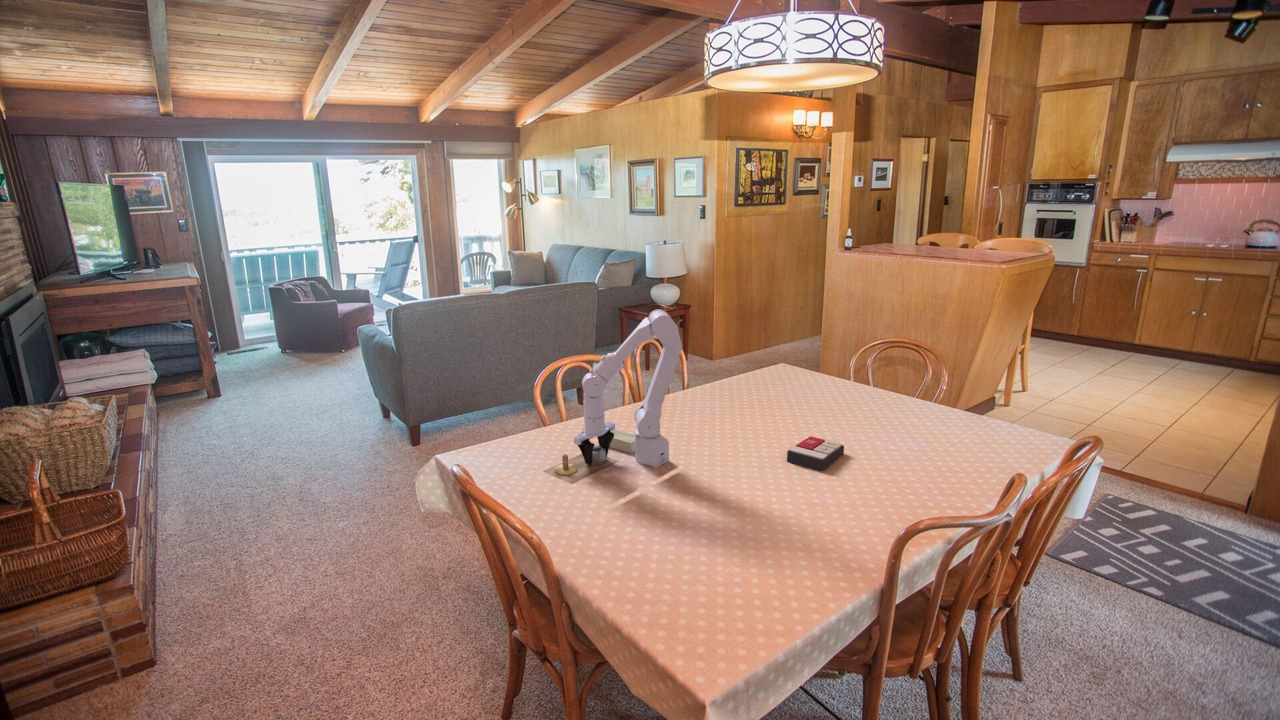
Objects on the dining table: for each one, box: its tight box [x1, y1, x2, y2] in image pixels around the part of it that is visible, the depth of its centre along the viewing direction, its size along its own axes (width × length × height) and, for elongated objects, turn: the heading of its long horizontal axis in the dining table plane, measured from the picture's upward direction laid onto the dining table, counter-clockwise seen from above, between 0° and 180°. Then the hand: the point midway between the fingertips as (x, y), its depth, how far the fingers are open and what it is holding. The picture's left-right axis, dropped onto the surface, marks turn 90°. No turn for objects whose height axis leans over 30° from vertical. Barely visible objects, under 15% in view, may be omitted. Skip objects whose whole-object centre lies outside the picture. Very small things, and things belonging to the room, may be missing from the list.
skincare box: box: [609, 428, 635, 454], centre depth 189 cm, size 6×4×12 cm
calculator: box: [786, 435, 845, 472], centre depth 180 cm, size 11×4×15 cm
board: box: [542, 447, 619, 485], centre depth 175 cm, size 12×18×6 cm, turn 139°
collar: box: [587, 444, 606, 467], centre depth 177 cm, size 6×6×4 cm
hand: (596, 460), depth 178 cm, fingers closed on collar, 5 cm apart
